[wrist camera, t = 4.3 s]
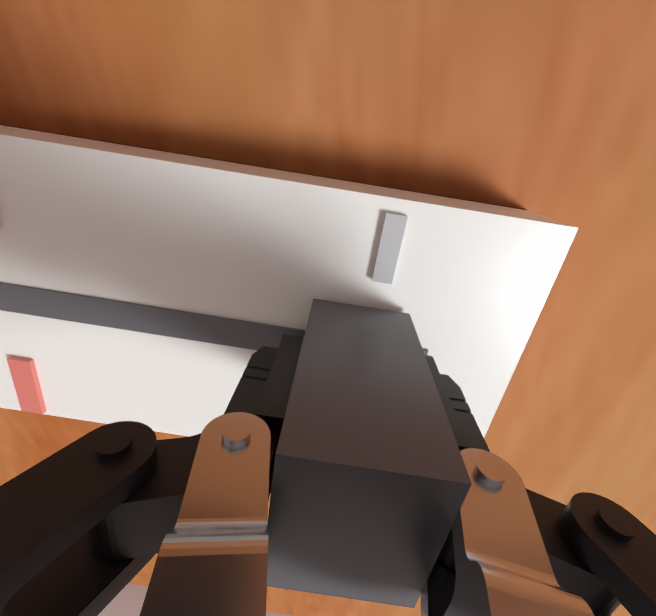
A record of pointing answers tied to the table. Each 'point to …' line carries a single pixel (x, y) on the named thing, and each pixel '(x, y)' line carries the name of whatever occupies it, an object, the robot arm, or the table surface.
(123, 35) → the table surface
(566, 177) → the table surface
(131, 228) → the panel
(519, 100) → the table surface
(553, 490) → the table surface
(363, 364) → the fader tab
